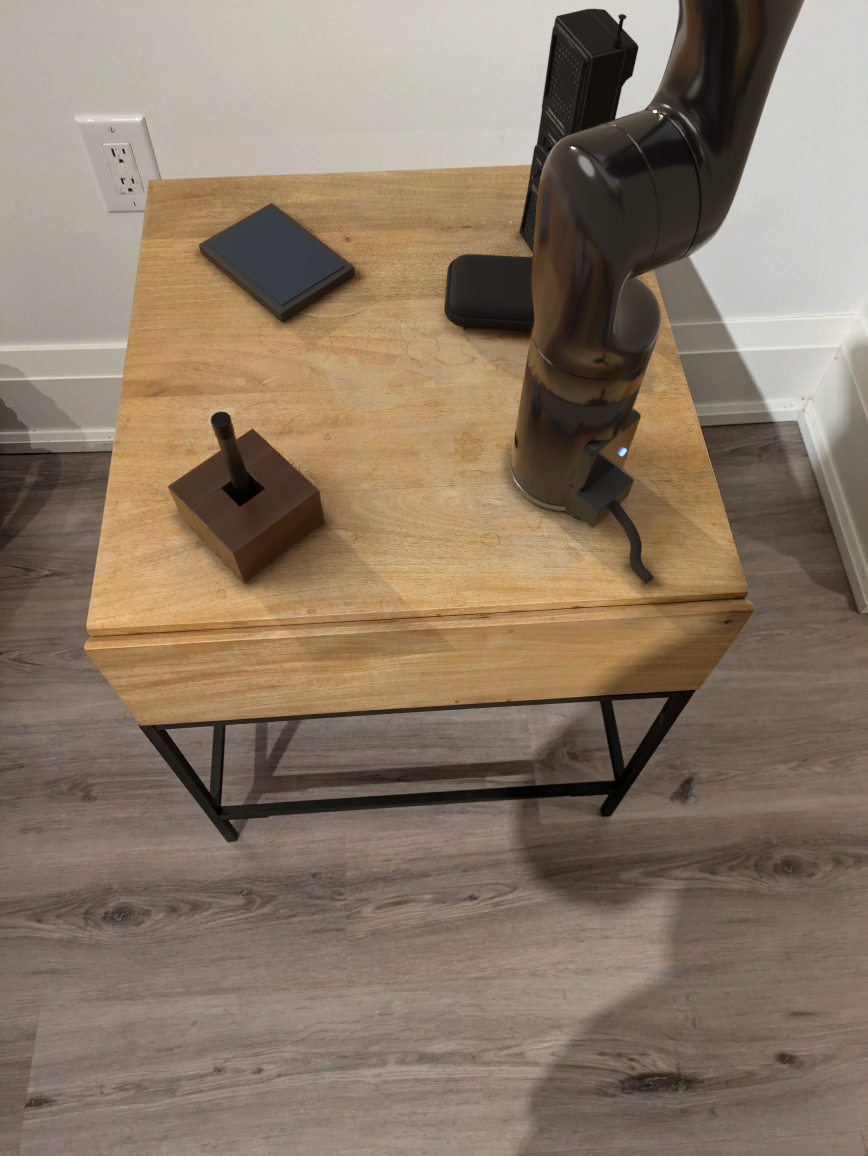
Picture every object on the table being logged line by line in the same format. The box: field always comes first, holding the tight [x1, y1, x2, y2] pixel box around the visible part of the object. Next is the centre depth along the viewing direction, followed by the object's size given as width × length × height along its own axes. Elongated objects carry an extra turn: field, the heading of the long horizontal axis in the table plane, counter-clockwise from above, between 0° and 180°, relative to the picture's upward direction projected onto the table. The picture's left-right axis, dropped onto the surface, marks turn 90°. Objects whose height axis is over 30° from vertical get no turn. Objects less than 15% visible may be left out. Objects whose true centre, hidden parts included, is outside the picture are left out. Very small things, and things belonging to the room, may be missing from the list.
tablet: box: [198, 202, 356, 323], centre depth 90 cm, size 14×10×1 cm
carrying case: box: [443, 253, 534, 334], centre depth 87 cm, size 11×3×15 cm
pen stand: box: [167, 428, 326, 584], centre depth 73 cm, size 9×9×5 cm
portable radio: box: [518, 8, 639, 253], centre depth 82 cm, size 8×6×25 cm
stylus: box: [210, 411, 254, 507], centre depth 69 cm, size 2×2×14 cm
